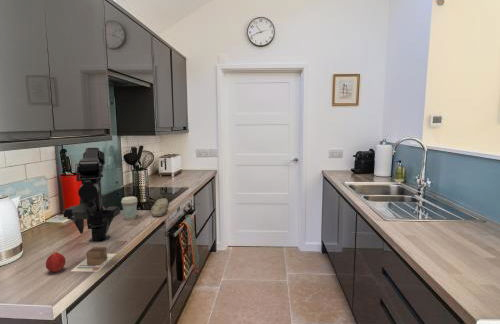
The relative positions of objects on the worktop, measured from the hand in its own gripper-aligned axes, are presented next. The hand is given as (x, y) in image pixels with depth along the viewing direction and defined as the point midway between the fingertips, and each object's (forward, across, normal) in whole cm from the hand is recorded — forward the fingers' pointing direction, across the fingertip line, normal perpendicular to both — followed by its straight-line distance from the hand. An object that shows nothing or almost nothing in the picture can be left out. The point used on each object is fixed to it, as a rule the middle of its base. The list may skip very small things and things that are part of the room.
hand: (93, 233), depth 106 cm
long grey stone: (+13, +1, +70) cm, 72 cm away
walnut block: (+12, +1, 0) cm, 12 cm away
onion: (+12, -10, -7) cm, 17 cm away
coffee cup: (+12, -9, +51) cm, 53 cm away
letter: (+12, 0, 0) cm, 12 cm away
